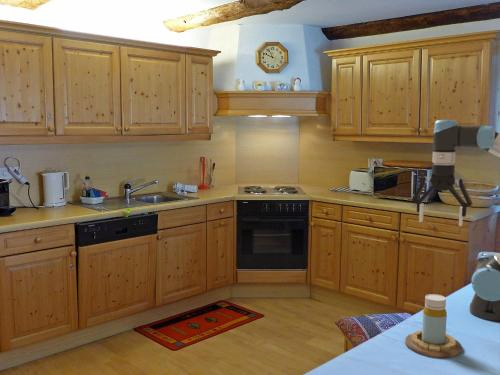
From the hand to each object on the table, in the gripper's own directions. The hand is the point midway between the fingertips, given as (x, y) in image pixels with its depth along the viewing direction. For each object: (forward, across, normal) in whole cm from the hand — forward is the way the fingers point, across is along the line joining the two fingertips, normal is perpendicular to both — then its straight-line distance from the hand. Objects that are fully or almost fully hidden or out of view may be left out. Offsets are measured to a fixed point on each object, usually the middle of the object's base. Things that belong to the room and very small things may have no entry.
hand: (440, 223), depth 188 cm
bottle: (+34, +5, -26) cm, 43 cm away
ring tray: (+35, +5, -26) cm, 44 cm away
